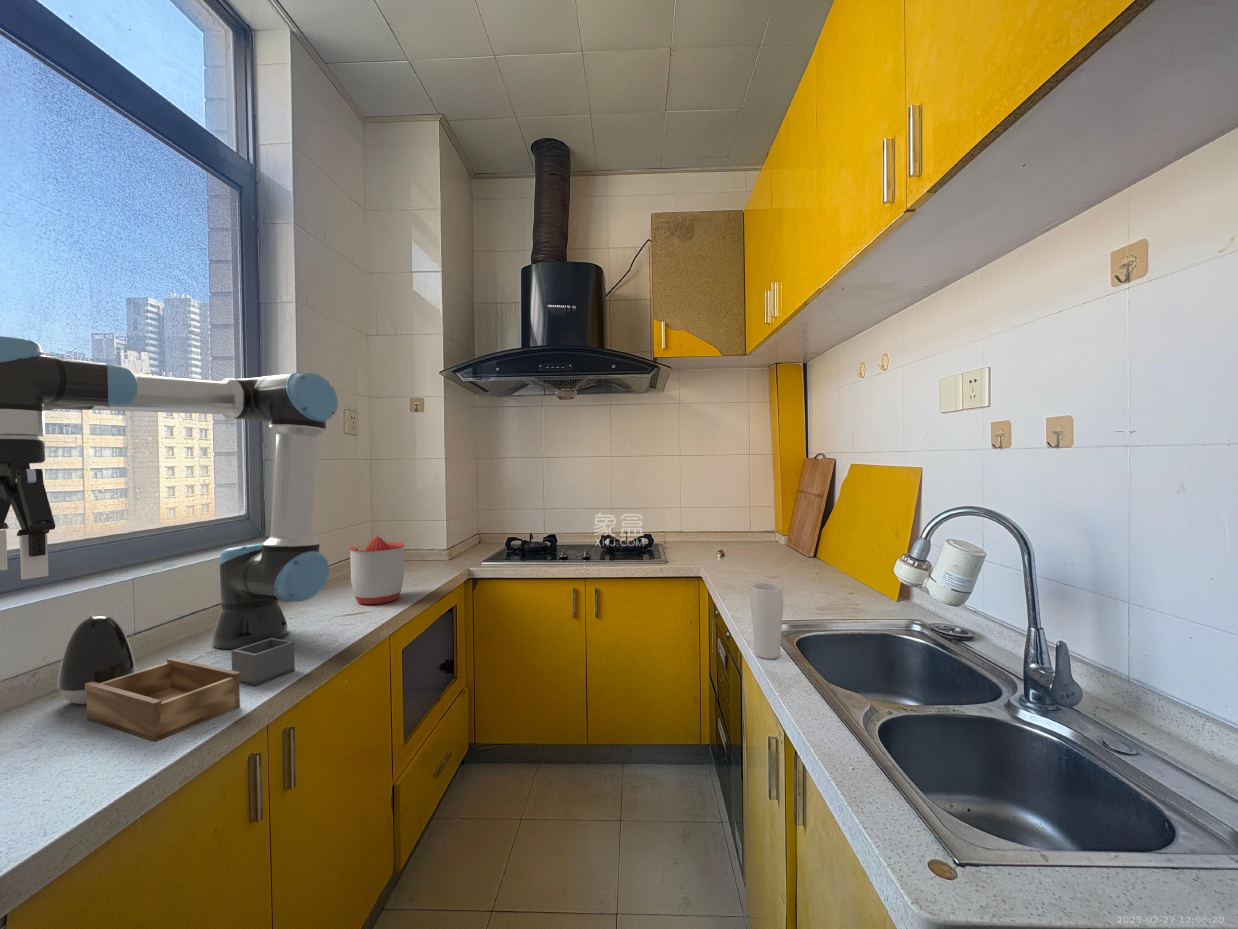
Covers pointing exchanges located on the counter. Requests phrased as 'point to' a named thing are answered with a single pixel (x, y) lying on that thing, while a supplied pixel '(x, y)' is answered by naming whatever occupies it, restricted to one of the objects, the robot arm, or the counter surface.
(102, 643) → the pump dispenser
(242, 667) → the box
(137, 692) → the large crate
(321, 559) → the robot arm
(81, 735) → the counter surface
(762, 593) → the drinking glass
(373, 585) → the citrus juicer
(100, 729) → the counter surface
